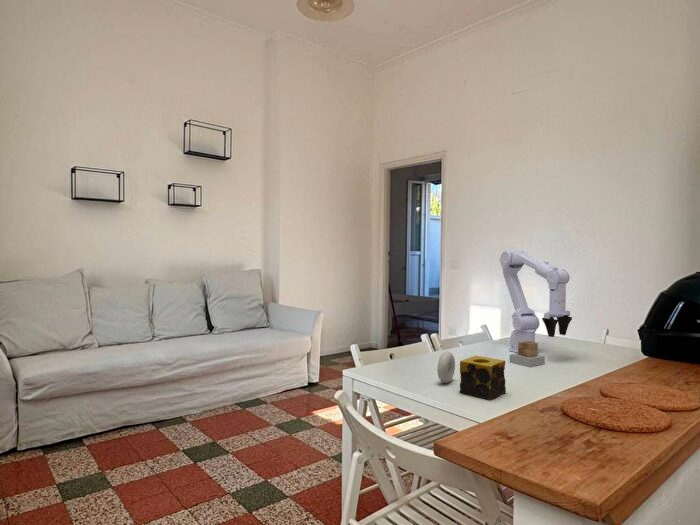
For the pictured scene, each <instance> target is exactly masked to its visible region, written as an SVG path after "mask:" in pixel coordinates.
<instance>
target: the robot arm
mask: <svg viewBox="0 0 700 525" xmlns="http://www.w3.org/2000/svg"><path fill="white" fill-rule="evenodd" d="M499 261H500V265H501V268H502V274H503V277H504V281H505V283H506V287H507V290H508V293H509V296H510V298H511V301H512V305H513V307H514V310H515V311H513V313H512V314H511V318H512V326H513V329H514V330H513V331H511V333H510V335H509V336H510V338H509V340H510V341H509V342H510V343H509V344H510V346H509V348H510V349H508V351H509V352H513V353H518V342H521V341H531V342H536V332H537V330H538V328H540V320H539V317H538V316H537V315H536V313H535V311H534V310H533V309H531V308H530V307H529V304H528V302H527V301H526V300H527V299H526V297H525V294H524V290H523V288H522V285H521V282H520V280H519V275H518V273H519V272H520V271H521V270H522V268H523V267H524V265H526V266H527V267H530V268H532V269H533V270H534V271H535V273H536V274H537V275H538V276H539V277H541V278H543V279H545V280H546V282H547V285H548V290H549V307H548V309H549V311H547V312H544V313H543V317H542V318H541V319H542V322H543V324H544V326H545V329H546V332H547V337H549V338H554V337H555V334H556V329H557V328H556V327H557V324H558V334H559V335H561V336H566V334H567V331H568V328H569V324H570V323H571V321H572V320H573V317H572V316H571V310H566V307H567V306H566V303H567V302H566V300H567V298H566V296H567V294H566V293H567V289H566V288H567V287H566V286H567V284H568V283H569V281H570V273H568V271H567V270H566V269H558V267H557V266H553V265H551V264H549V261H546V260H545V261H539V260H537V259H535V258H534V257H532V256H531V255H529V254H528V252H526V251H524V250H504V251H503V252H502V253H501V254H500V258H499ZM555 318H556V319H555ZM539 353H540V351H539V350H538V354H539Z"/></svg>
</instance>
